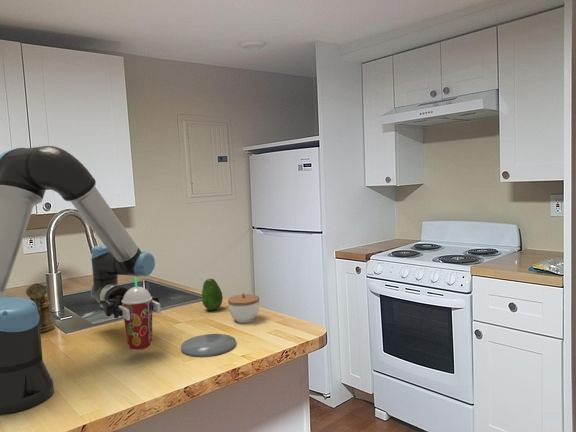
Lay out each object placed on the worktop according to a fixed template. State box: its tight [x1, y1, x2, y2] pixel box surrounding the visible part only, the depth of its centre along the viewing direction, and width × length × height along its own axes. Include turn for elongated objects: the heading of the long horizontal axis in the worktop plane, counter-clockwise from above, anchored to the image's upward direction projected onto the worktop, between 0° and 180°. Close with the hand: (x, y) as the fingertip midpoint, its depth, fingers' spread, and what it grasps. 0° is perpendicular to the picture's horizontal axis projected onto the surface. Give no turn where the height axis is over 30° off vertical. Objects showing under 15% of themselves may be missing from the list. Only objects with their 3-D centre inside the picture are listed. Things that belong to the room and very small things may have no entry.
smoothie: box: [121, 276, 153, 351], centre depth 133 cm, size 8×8×20 cm
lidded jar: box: [227, 292, 260, 324], centre depth 161 cm, size 11×11×9 cm
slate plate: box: [180, 333, 237, 358], centre depth 138 cm, size 16×16×1 cm
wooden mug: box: [25, 283, 56, 334], centre depth 159 cm, size 9×14×18 cm, turn 28°
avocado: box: [201, 278, 224, 311], centre depth 175 cm, size 8×8×12 cm
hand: (144, 311), depth 129 cm, fingers closed on smoothie, 8 cm apart
